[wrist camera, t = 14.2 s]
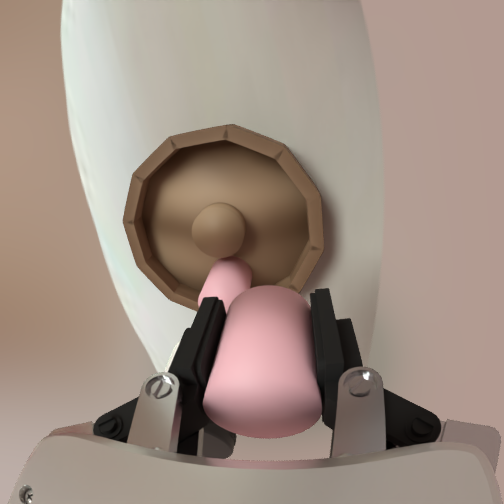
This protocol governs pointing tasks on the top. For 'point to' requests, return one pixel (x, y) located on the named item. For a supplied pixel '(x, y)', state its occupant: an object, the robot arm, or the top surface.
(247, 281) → the bead
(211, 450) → the jar
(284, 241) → the tray
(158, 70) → the top surface
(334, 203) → the top surface
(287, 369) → the bead
